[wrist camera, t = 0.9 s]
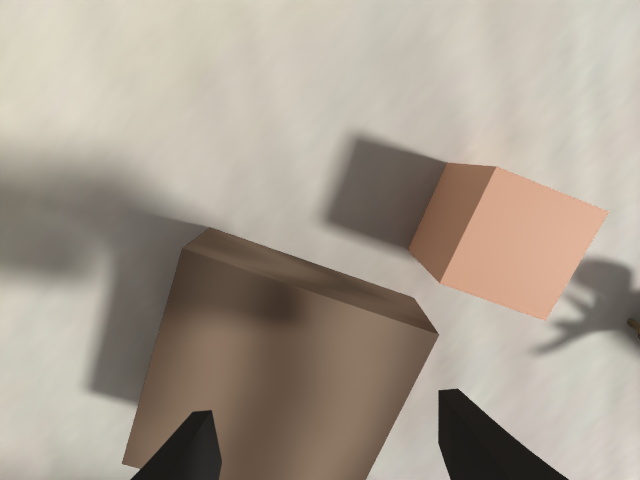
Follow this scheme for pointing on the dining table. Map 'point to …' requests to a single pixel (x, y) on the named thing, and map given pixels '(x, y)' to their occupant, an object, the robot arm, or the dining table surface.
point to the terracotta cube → (504, 237)
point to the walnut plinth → (279, 363)
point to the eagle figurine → (635, 326)
